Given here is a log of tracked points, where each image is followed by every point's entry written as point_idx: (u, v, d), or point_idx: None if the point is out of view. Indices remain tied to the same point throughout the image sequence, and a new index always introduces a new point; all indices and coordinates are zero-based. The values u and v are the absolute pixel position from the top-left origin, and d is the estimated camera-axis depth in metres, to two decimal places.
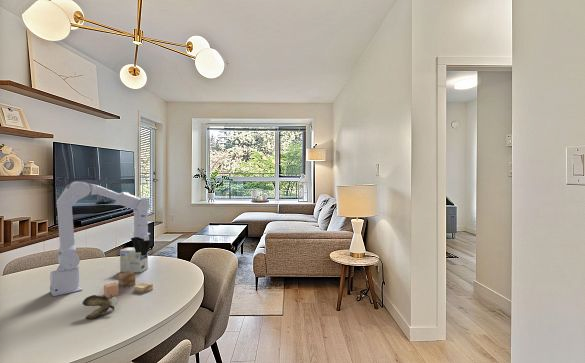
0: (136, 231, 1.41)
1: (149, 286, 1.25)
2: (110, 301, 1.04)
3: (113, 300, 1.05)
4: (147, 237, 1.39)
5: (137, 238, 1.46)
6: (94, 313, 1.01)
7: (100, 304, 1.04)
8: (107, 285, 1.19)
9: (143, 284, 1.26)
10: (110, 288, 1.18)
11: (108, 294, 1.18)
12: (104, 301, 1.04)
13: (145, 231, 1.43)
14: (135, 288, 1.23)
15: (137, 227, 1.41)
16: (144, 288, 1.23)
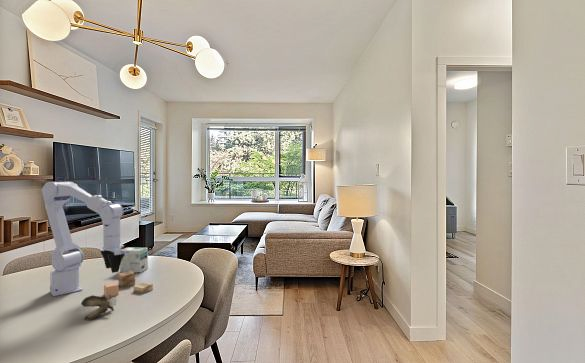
0: (106, 243, 1.18)
1: (149, 286, 1.25)
2: (109, 301, 1.04)
3: (112, 300, 1.04)
4: (118, 251, 1.16)
5: (108, 251, 1.23)
6: (93, 314, 1.00)
7: (99, 304, 1.03)
8: (107, 285, 1.20)
9: (143, 284, 1.26)
10: (110, 288, 1.18)
11: (108, 294, 1.18)
12: (103, 301, 1.04)
13: (117, 243, 1.20)
14: (135, 288, 1.23)
15: (107, 239, 1.18)
16: (144, 288, 1.22)
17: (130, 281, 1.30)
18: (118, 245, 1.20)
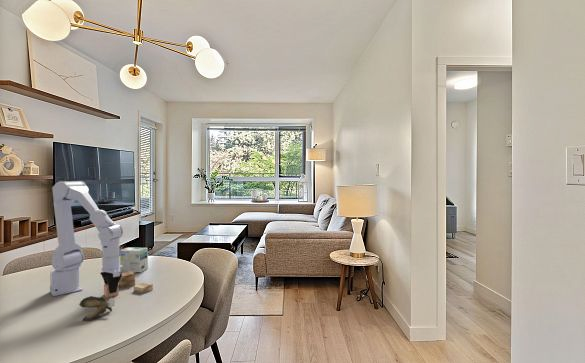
0: (104, 265, 1.17)
1: (149, 286, 1.25)
2: (107, 302, 1.03)
3: (110, 301, 1.04)
4: (117, 273, 1.15)
5: (108, 273, 1.22)
6: (91, 314, 1.00)
7: (97, 305, 1.03)
8: (107, 285, 1.20)
9: (143, 284, 1.26)
10: None
11: (108, 294, 1.18)
12: (101, 302, 1.03)
13: (116, 264, 1.19)
14: (135, 288, 1.23)
15: (106, 260, 1.17)
16: (144, 288, 1.22)
17: (130, 281, 1.30)
18: (117, 266, 1.20)
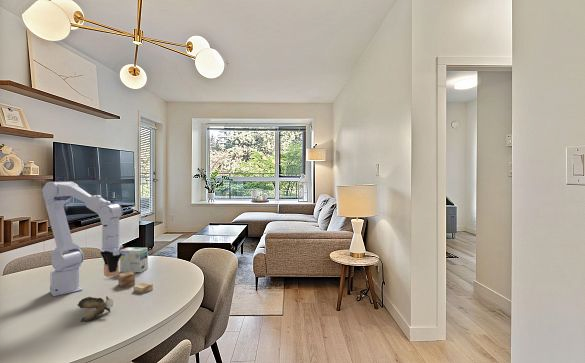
0: (104, 244, 1.17)
1: (149, 286, 1.25)
2: (106, 303, 1.03)
3: (109, 302, 1.03)
4: (117, 251, 1.15)
5: (108, 252, 1.21)
6: (89, 315, 0.99)
7: (96, 306, 1.02)
8: (107, 265, 1.19)
9: (143, 284, 1.26)
10: None
11: (108, 273, 1.18)
12: (100, 303, 1.02)
13: (116, 243, 1.19)
14: (135, 288, 1.23)
15: (105, 239, 1.17)
16: (144, 288, 1.22)
17: (130, 281, 1.30)
18: (117, 245, 1.20)
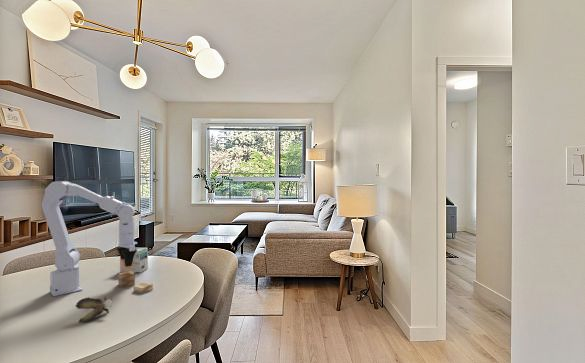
0: (121, 240, 1.29)
1: (149, 286, 1.24)
2: (104, 304, 1.02)
3: (107, 303, 1.03)
4: (133, 247, 1.26)
5: (124, 248, 1.33)
6: (87, 316, 0.98)
7: (94, 307, 1.01)
8: (123, 260, 1.31)
9: (143, 284, 1.26)
10: None
11: (124, 267, 1.29)
12: (98, 304, 1.02)
13: (131, 240, 1.30)
14: (135, 288, 1.23)
15: (122, 236, 1.29)
16: (144, 288, 1.22)
17: (130, 281, 1.30)
18: (132, 242, 1.31)
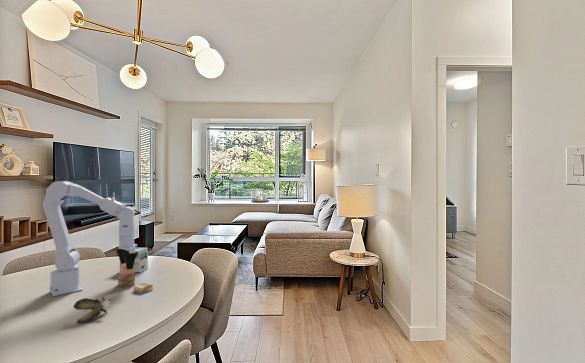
0: (121, 243, 1.29)
1: (149, 286, 1.24)
2: (102, 304, 1.02)
3: (105, 303, 1.02)
4: (133, 249, 1.26)
5: (123, 250, 1.34)
6: (85, 317, 0.98)
7: (92, 307, 1.01)
8: (123, 264, 1.31)
9: (143, 284, 1.26)
10: (125, 266, 1.30)
11: (123, 272, 1.29)
12: (96, 304, 1.01)
13: (131, 242, 1.30)
14: (135, 288, 1.23)
15: (122, 238, 1.29)
16: (143, 288, 1.22)
17: (129, 281, 1.30)
18: (132, 244, 1.31)
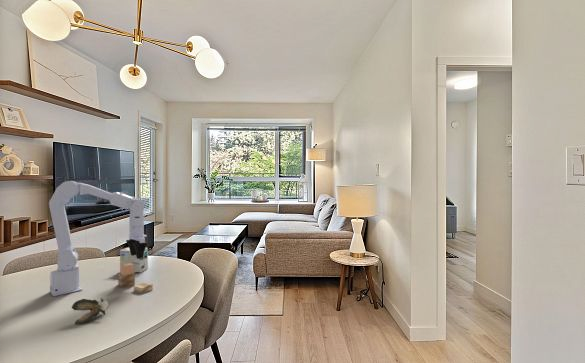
0: (131, 233, 1.34)
1: (149, 286, 1.24)
2: (100, 305, 1.01)
3: (104, 304, 1.02)
4: (143, 239, 1.32)
5: (133, 240, 1.39)
6: (84, 318, 0.97)
7: (90, 308, 1.00)
8: (123, 264, 1.31)
9: (143, 284, 1.26)
10: (126, 267, 1.29)
11: (124, 272, 1.29)
12: (94, 305, 1.01)
13: (141, 233, 1.36)
14: (135, 288, 1.23)
15: (132, 229, 1.34)
16: (143, 288, 1.22)
17: (130, 281, 1.30)
18: (142, 235, 1.37)
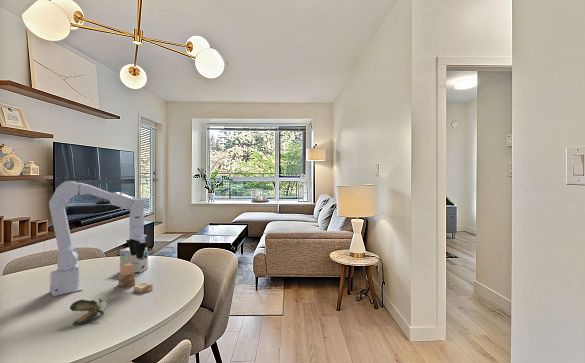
0: (131, 233, 1.34)
1: (149, 286, 1.24)
2: (99, 306, 1.01)
3: (102, 305, 1.01)
4: (143, 239, 1.32)
5: (133, 240, 1.39)
6: (82, 318, 0.97)
7: (88, 309, 1.00)
8: (123, 264, 1.31)
9: (143, 284, 1.26)
10: (126, 267, 1.29)
11: (124, 272, 1.29)
12: (93, 306, 1.00)
13: (141, 233, 1.36)
14: (135, 288, 1.23)
15: (132, 229, 1.34)
16: (143, 288, 1.22)
17: (130, 281, 1.30)
18: (142, 235, 1.37)
